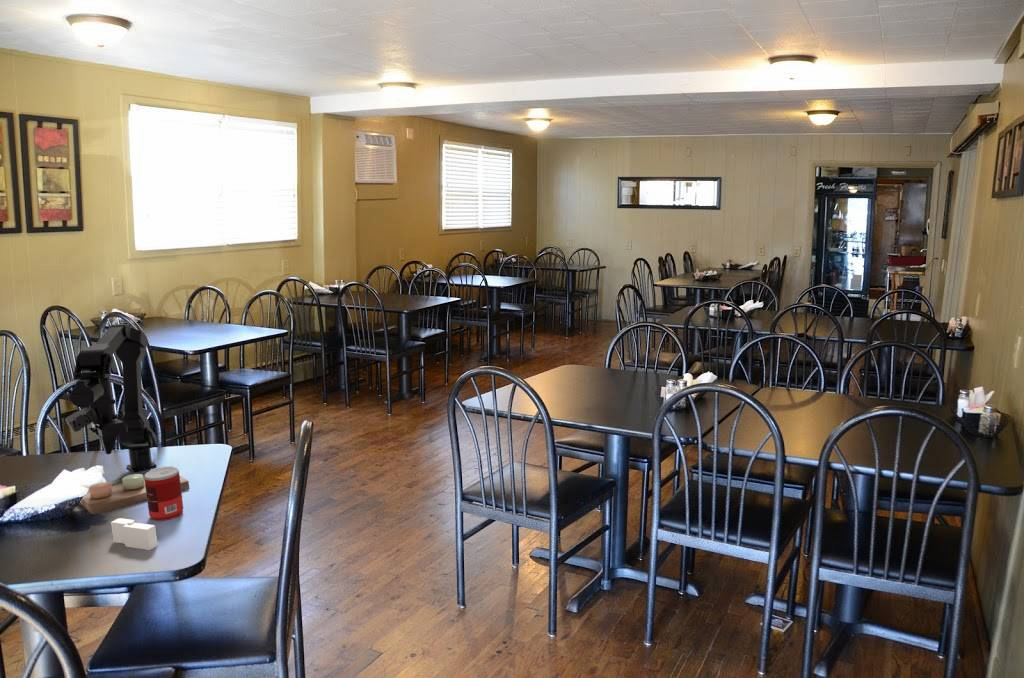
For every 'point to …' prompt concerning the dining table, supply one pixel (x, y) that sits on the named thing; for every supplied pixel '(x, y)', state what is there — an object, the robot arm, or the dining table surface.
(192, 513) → the dining table surface
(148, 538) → the white stepped block
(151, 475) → the canned food
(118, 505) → the panel
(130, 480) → the button sage
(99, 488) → the button terracotta
